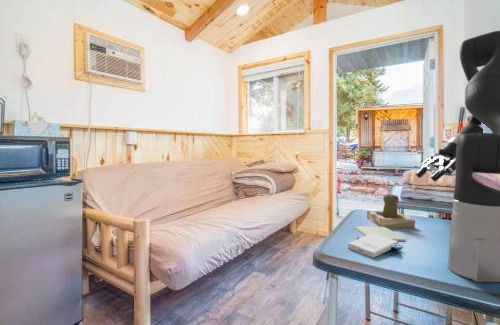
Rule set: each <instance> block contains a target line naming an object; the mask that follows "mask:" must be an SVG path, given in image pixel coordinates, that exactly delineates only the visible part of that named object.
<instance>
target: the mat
mask: <svg viewBox="0 0 500 325" xmlns="http://www.w3.org/2000/svg"><path fill="white" fill-rule="evenodd" d="M354 228H355V230H357V231H358V232H359V233H361V234H362V235H364V237H365V236H367V235H370V234H372V233H374V234H377V235H380V236H383V237H387V238H390V239H393V240H396V241H398V242H406V241H407V239H406V238H405V237H403V236H401V235H400V234H398V233H396V232H395V231H393V230H391V228H386V227H381V226H359V225H358V226H354Z"/></svg>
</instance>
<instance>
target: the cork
mask: <svg viewBox="0 0 500 325" xmlns="http://www.w3.org/2000/svg"><path fill="white" fill-rule="evenodd" d="M399 200H400V199H399V196H397V195H396V194H391V193H389V194H385V195H383V202H384V203H383V204H384V205H383V210H382V211H383V214H382V216H383V217H384V218H398V215H397V212H398V203H399Z"/></svg>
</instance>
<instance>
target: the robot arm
mask: <svg viewBox="0 0 500 325" xmlns="http://www.w3.org/2000/svg"><path fill="white" fill-rule="evenodd" d="M459 60H460V65H461V67H462V69H463V73H464V75H465V78H466V80H467V84H466V86H465V91H464V92H465V93H464V94H465V95H464V105H465V108H466V110H467V112H468V113H469V114H471V116H470V118H469V120H468V121H467V123H466V124H465V126H464V127H462V129H461V130H460V131H459V132H458V133H457V134H455V135H454V136H453V137H451V138H450V139H449V140H448V141H447V142H446V143H445V144H444V145H442V146H441V148H439V150H438V155H437V156H435V157H434V156H433V155H430V156H429V157H427V158H426V159H425V160H424V161H422V163H420V164H419V167H420V169H419V170H418V171H417V172H416V173H415V176H416V177H417V178H420V179H421V178H422V177H423V176H425V174H426V173H428V172H429V171H432V170H436V169H437V170H436V171H435V172H434V173H433V174H432V175H431V176H430V179H431V180H432V181H433V182H437V181H438V180H440V178H442V176H445V175H447V174H448V175H451V174H453V172H455V179H454V180H455V181H454V191H453V201H452V211H451V221H450V234H449V244H448V246H449V247H448V258H447V268H448V269H449V270H450V271H452V272H453V273H454V274H456V275H459V276H461V277H464V278H466V279H469V280H472V281H474V282H475V283H476V282H477V283H500V190H499V189H497V188H494V187H491V186H488V185H485V184H483V183H482V182H480V181H478V180H477V179H476V178H474V177H473V173H476V174H477V173H478V174H492V175H494V174H495V175H500V30H496V31H490V32H486V33H483V34H480V35H477V36H474V37H471V38H468V39H465V40H463V41H462V42H461V43H460V45H459ZM478 68H481V69H478ZM481 122H482V123H483V124H485V125H486V126H487V127H488V128H487V127H486V128H487V129H489V130H490V131H491V132H485V133H483V129H484V128H482V126H480V125H481Z"/></svg>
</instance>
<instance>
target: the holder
mask: <svg viewBox="0 0 500 325" xmlns="http://www.w3.org/2000/svg"><path fill="white" fill-rule="evenodd" d="M382 214H383V210H367V212H366V219H367V220H369V219H370V220H369V221H372V222H373V224H376V225H378V227H386V228H388V229H391V228H393V229H394V228H395V229H396V228H398V229H406V228H407V229H416V228H415V227H416V219H414V218H412V217H409V216H408V215H406V214H403V213H401V212H398V211H397V215H398V218H384V217H383V216H382Z"/></svg>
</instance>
